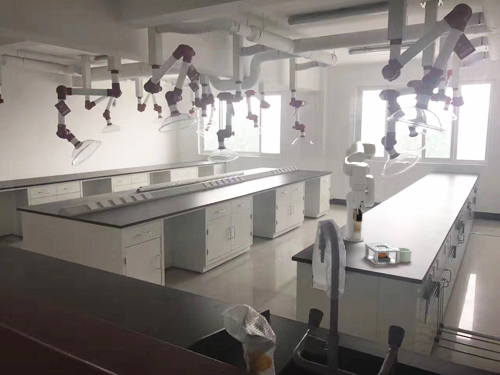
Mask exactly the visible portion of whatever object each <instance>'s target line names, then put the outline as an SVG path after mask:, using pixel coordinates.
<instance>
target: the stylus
mask: <svg viewBox="0 0 500 375" xmlns="http://www.w3.org/2000/svg"><path fill="white" fill-rule="evenodd" d="M356 214H357V209H354V232H355V233H361V234H362V229H361V221H356Z"/></svg>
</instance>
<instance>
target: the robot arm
mask: <svg viewBox="0 0 500 375" xmlns="http://www.w3.org/2000/svg"><path fill="white" fill-rule="evenodd" d="M376 150H377V149H376V145H375V143H374V142H372V141H356V142H353V143H352V144H351V146H350V147H347V148H346V149H345V158H344V159H343V163H342V171H343V175H344V176H345V177H348V186H349V188H350V189H351V191H349V192H347V194H346V196H345V200H346V227H345V230H346V231H345V233H346V234H345V236H343V240H344V241H347V242H352V243H355V242H356V243H360V242H363V241H364V240H365V239H364V237H363V236H362V232H361V233H355V232H354V209H357V214H356V221H361V230H362V227H363V226H362V224H363V223H362V222H363V213H364V211H365V208H371V207H373V206H374V204H375V195H376V194H375V192H376V190H375V185H376V184H375V177H374V176H373V175H371V174H370V171H371V170H370V166H369V164H368V163H366V162H367V161H373V160H374V157H375V155H376V152H377V151H376ZM365 161H366V162H365Z"/></svg>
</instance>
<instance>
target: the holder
mask: <svg viewBox="0 0 500 375" xmlns="http://www.w3.org/2000/svg"><path fill="white" fill-rule="evenodd" d="M397 248H398V249H399V250H401V252H400V259H399V263H410V262H411V261H412V252H413V251H412V249H411V248H408V247H397Z"/></svg>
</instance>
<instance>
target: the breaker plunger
mask: <svg viewBox="0 0 500 375" xmlns="http://www.w3.org/2000/svg"><path fill="white" fill-rule="evenodd" d="M378 257H379V258H386V253H378Z"/></svg>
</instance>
